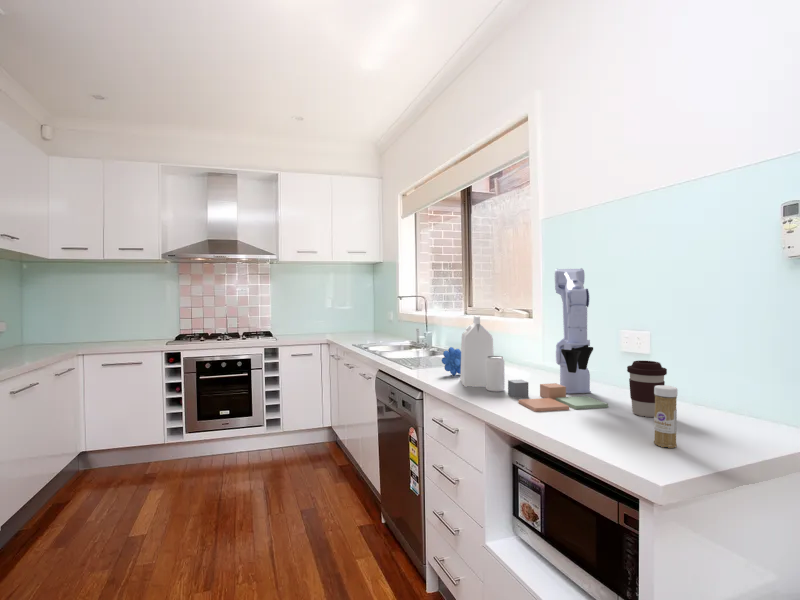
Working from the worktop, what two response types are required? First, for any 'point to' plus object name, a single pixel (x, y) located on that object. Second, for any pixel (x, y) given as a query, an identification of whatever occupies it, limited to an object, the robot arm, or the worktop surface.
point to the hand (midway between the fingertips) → (577, 370)
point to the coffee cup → (645, 386)
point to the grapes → (452, 360)
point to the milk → (475, 354)
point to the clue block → (552, 390)
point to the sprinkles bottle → (665, 416)
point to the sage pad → (581, 402)
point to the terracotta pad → (543, 404)
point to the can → (495, 374)
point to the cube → (517, 388)
